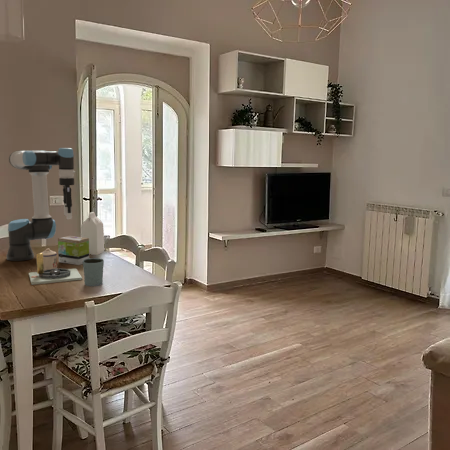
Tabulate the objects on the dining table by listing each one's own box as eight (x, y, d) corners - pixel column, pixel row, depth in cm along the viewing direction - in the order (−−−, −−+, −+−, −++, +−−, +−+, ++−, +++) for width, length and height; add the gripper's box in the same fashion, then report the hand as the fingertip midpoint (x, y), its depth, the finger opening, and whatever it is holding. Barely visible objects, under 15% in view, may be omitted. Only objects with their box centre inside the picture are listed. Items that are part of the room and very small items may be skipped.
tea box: (58, 262, 275) (57, 238, 272) (69, 259, 284) (68, 235, 282) (78, 265, 269) (78, 240, 267) (90, 261, 278) (89, 237, 276)
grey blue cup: (96, 280, 240) (95, 257, 238) (108, 283, 234) (108, 260, 232) (79, 284, 232) (78, 260, 230) (91, 288, 226) (90, 263, 224)
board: (28, 274, 247) (28, 272, 247) (76, 270, 258) (75, 268, 258) (31, 284, 230) (31, 282, 229) (82, 279, 240) (82, 277, 240)
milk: (88, 250, 310) (87, 211, 306) (104, 250, 309) (104, 211, 304) (80, 254, 298) (79, 213, 294) (97, 254, 297) (96, 214, 293)
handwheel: (71, 270, 253) (70, 249, 251) (69, 277, 238) (68, 256, 236) (39, 271, 249) (38, 250, 247) (35, 279, 234) (34, 257, 232)
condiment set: (56, 270, 257) (56, 250, 255) (39, 271, 254) (38, 250, 252) (58, 265, 268) (57, 245, 266) (41, 266, 266) (40, 246, 264)
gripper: (76, 179, 238) (78, 220, 242) (71, 175, 261) (72, 213, 264) (61, 179, 235) (62, 221, 239) (57, 176, 258) (58, 214, 261)
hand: (67, 217), depth 252 cm, fingers open, 13 cm apart
